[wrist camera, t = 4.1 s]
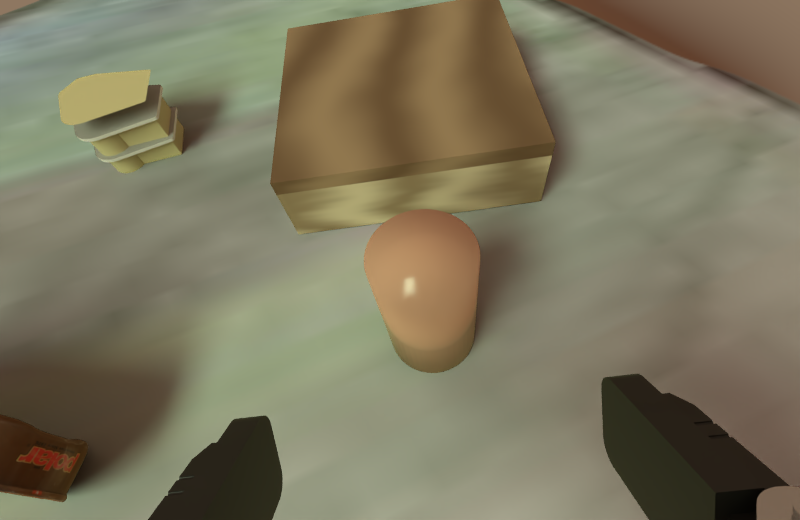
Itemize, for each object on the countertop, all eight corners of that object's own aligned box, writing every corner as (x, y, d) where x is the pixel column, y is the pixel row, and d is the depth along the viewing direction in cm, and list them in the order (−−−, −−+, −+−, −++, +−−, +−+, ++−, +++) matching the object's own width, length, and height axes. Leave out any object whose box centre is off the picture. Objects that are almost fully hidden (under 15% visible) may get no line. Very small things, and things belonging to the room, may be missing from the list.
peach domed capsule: (467, 290, 24) (469, 202, 18) (481, 367, 22) (490, 299, 15) (388, 300, 25) (362, 216, 18) (394, 377, 22) (365, 315, 16)
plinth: (492, 56, 36) (496, -7, 32) (540, 200, 27) (555, 141, 23) (307, 85, 37) (287, 28, 32) (298, 234, 28) (270, 183, 24)
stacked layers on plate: (208, 102, 38) (173, 43, 33) (206, 173, 33) (164, 115, 28) (99, 130, 38) (47, 75, 33) (80, 205, 33) (17, 153, 28)
